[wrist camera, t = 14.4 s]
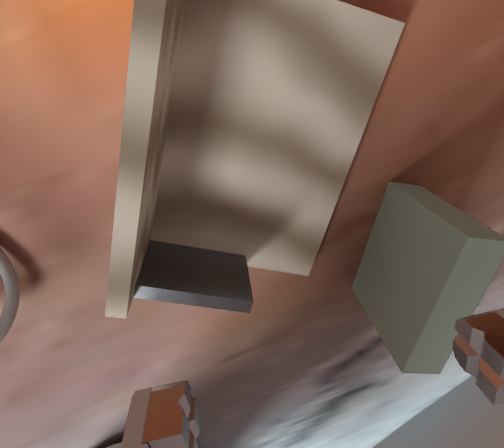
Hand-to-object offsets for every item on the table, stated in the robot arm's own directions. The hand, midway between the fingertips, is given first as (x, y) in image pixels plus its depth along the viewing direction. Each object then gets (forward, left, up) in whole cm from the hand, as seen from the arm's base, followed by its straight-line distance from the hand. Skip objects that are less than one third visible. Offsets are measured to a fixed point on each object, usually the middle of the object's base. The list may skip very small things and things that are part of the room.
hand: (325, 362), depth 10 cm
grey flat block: (-4, -13, -19) cm, 23 cm away
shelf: (+2, +1, -19) cm, 19 cm away
